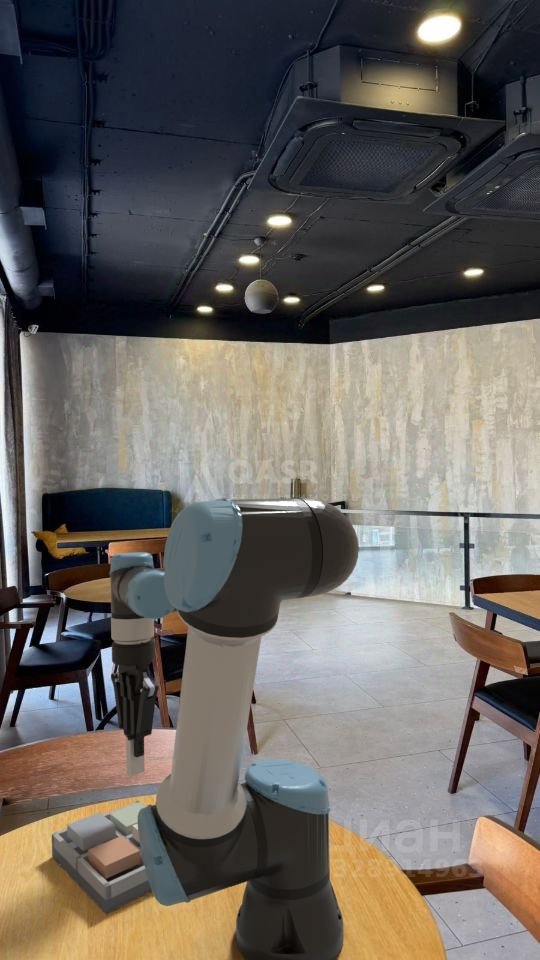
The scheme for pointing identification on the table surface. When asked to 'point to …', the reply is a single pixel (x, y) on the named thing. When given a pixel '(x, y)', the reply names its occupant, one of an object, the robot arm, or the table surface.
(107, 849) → the key terracotta
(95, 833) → the key slate
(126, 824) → the key sage
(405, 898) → the table surface
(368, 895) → the table surface
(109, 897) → the keypad base
